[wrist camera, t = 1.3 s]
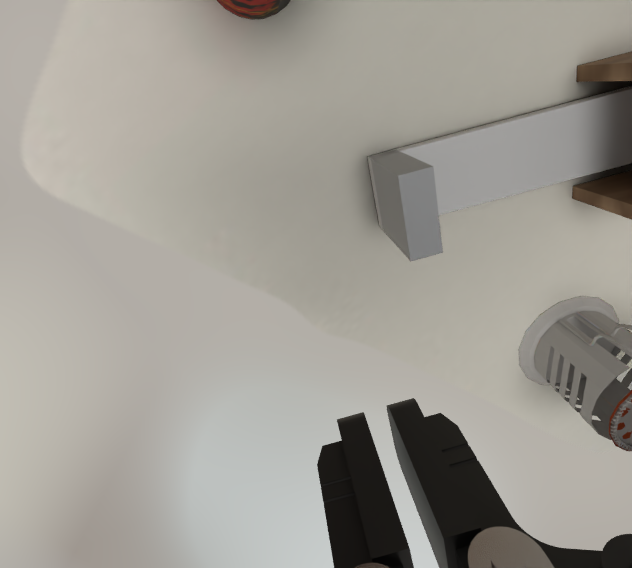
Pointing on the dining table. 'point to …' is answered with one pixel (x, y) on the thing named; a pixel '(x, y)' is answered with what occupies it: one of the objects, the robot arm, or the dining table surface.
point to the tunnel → (621, 189)
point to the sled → (496, 165)
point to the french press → (584, 362)
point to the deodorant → (254, 7)
